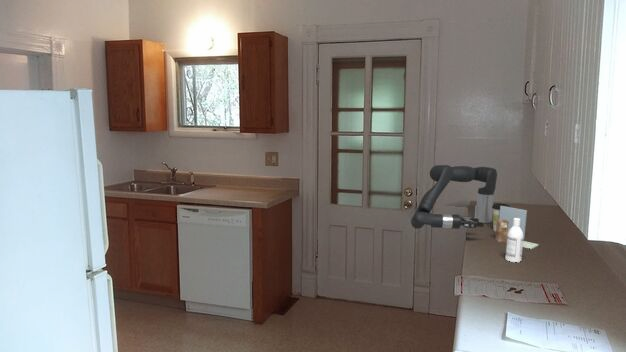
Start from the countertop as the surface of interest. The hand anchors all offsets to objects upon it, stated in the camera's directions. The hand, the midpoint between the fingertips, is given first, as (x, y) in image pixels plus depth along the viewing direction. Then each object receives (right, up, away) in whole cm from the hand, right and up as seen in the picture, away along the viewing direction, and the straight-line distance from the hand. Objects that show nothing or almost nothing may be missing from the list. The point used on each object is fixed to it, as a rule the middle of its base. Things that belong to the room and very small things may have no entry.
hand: (480, 222), depth 262 cm
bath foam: (+5, -15, -29) cm, 33 cm away
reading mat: (+22, -11, -5) cm, 25 cm away
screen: (+20, -9, +10) cm, 24 cm away
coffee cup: (+18, -7, +22) cm, 29 cm away
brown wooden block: (+11, -10, +2) cm, 15 cm away
